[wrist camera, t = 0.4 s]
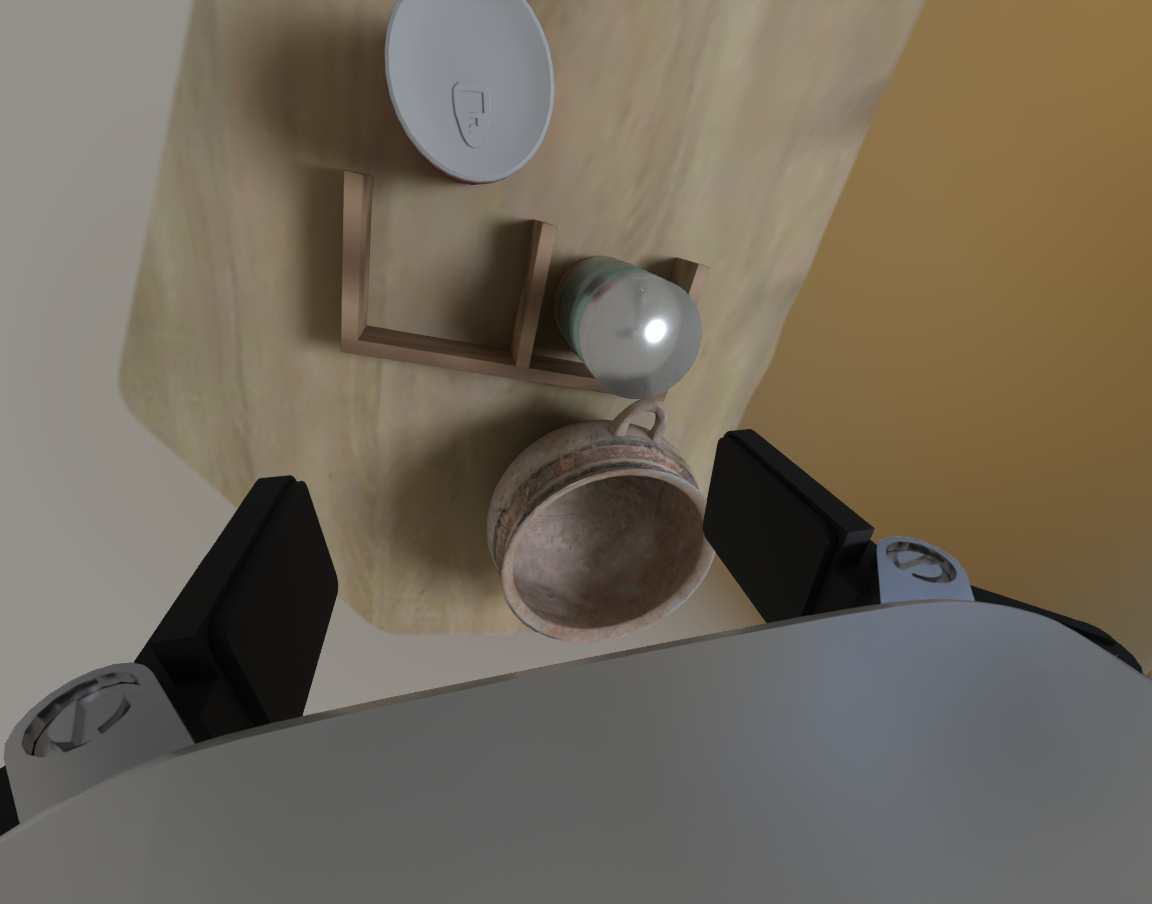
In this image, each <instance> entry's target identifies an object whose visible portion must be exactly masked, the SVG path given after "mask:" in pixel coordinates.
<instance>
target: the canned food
mask: <svg viewBox="0 0 1152 904" xmlns="http://www.w3.org/2000/svg"><path fill="white" fill-rule="evenodd" d="M385 72H386V80H387V85H388V89H389V94H390V98H391V101H392V104H393V107H394V109H395V112H396V115H397V118H398V120H399V121H400V123H401V125H402V127H403V129H404V131H405V133H406V134H407V136H408V138H409V139H410V141H411V142H412V143H413V145H414V146H415V147H416V149H417V150H418V151H419V153H420V154H421V155H422V156H423V157H424V158H425V159H426V160H427V161H428V162H429V163H430V164H431V165H432V166H433V167H434V168H436V169H437V170H438V171H439V172H440V173H442V174H443V175H445V176H446V177H448V178H450V179H452V180H455V181H457V182H460V183H464V184H471V185H475V184H487V183H493V182H496V181H499V180H503V179H505V178H507V177H509V176H511V175H512V174H514V173H516V172H517V171H519V170H520V169H521V168H522V167H523V166H524V165H525V164H526V163H528V162H529V161H530V160H531V158H532V157H533V155H534V154H535V153H536V151H537V150H538V148H539V147H540V145H541V143H542V140H543V138H544V136H545V134H546V131H547V129H548V126H549V122H550V118H551V114H552V110H553V100H554V74H553V65H552V60H551V55H550V50H549V46H548V43H547V41H546V38H545V35H544V32H543V30H542V27H541V25H540V23H539V21H538V19H537V18H536V16H535V14H534V12H533V10H532V8H531V7H530V5H529V4H528V3H527V2H526V0H397V2H396V4H395V6H394V8H393V11H392V14H391V17H390V20H389V24H388V27H387V34H386V42H385Z"/></svg>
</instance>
